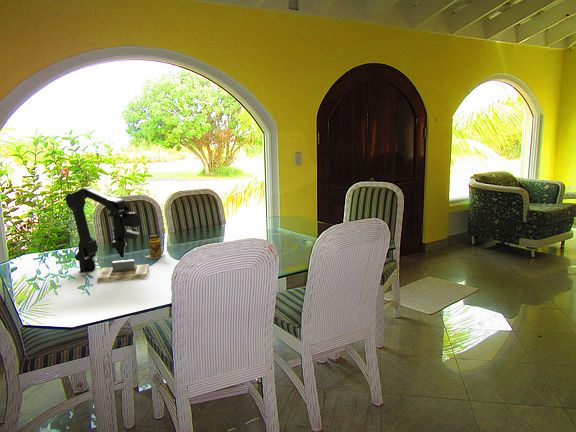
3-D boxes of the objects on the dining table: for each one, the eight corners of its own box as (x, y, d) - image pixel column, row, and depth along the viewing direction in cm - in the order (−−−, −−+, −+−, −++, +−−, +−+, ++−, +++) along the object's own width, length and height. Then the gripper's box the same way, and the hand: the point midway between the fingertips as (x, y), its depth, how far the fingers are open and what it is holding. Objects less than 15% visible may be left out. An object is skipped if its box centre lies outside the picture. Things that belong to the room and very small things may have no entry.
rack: (97, 282, 214) (97, 277, 214) (102, 271, 228) (102, 267, 228) (146, 277, 219) (146, 273, 218) (148, 267, 233) (148, 263, 233)
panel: (113, 276, 221) (111, 262, 220) (114, 275, 224) (112, 261, 222) (135, 274, 224) (133, 260, 222) (135, 273, 226) (134, 259, 225)
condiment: (155, 259, 248) (153, 237, 245) (144, 257, 252) (142, 235, 249) (165, 255, 254) (163, 234, 251) (154, 253, 258) (152, 232, 255)
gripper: (135, 229, 211) (138, 261, 215) (138, 220, 229) (141, 250, 232) (109, 230, 209) (112, 263, 212) (115, 221, 227) (118, 252, 230)
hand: (122, 257), depth 222 cm, fingers closed
